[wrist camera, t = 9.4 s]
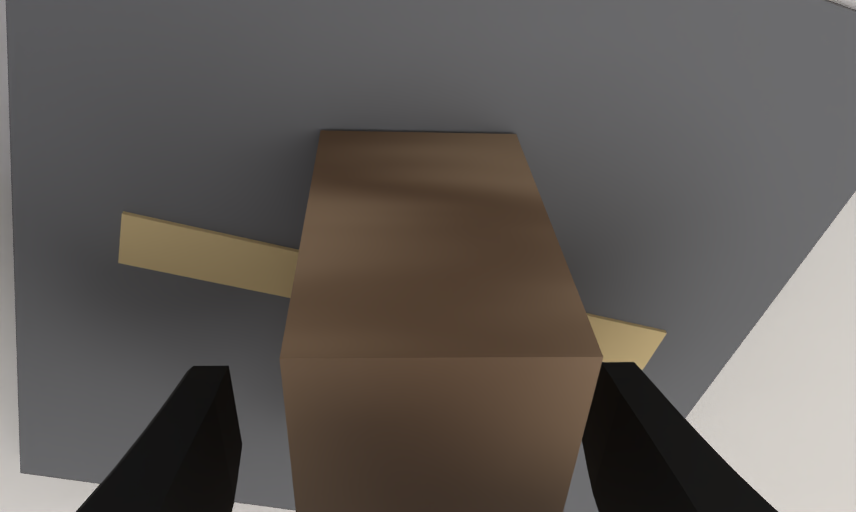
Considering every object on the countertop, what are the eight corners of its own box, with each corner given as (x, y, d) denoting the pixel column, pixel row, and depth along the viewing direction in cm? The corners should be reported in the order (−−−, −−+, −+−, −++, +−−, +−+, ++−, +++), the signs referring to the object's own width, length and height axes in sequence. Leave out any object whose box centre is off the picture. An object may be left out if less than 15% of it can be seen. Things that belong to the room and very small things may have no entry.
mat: (29, 456, 18) (19, 476, 17) (13, -293, 9) (-7, -299, 9) (582, 535, 21) (587, 553, 21) (942, 41, 13) (964, 51, 12)
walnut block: (335, 428, 17) (315, 693, 12) (320, 130, 12) (278, 359, 7) (478, 427, 17) (517, 686, 12) (516, 134, 13) (603, 357, 8)
